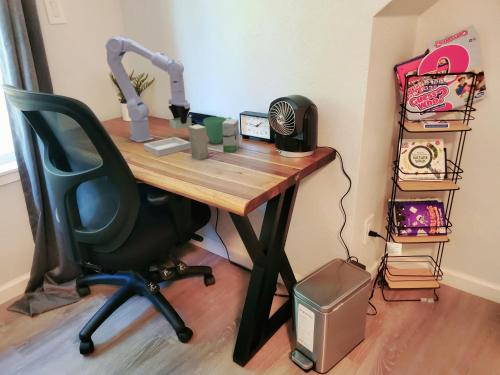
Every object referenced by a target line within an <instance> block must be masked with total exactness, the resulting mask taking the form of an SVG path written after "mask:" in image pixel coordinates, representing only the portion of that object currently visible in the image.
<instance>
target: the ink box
mask: <svg viewBox="0 0 500 375" xmlns="http://www.w3.org/2000/svg"><path fill="white" fill-rule="evenodd" d="M239 126H240V125H239V119H237V118H232V119H226V120H225V121H224V122H223V123H222V128H223V140H222V145H223V152H224V153H236V151H237V150H238V148H239V147H240V129H239V128H240V127H239Z"/></svg>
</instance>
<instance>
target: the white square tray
mask: <svg viewBox="0 0 500 375" xmlns="http://www.w3.org/2000/svg"><path fill="white" fill-rule="evenodd" d="M190 149H191V143H190V141H187V140H185V139H183V138H179V137H176V136H173V137H169V138H164V139H161V140H160V139H159V140H155V141H151V142H147V143H143V150H144V151H146V152H148V153H150V154H152V155H154V156H157V157H163V156H166V155H170V154H173V153H177V152H182V151H185V150H190Z"/></svg>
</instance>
